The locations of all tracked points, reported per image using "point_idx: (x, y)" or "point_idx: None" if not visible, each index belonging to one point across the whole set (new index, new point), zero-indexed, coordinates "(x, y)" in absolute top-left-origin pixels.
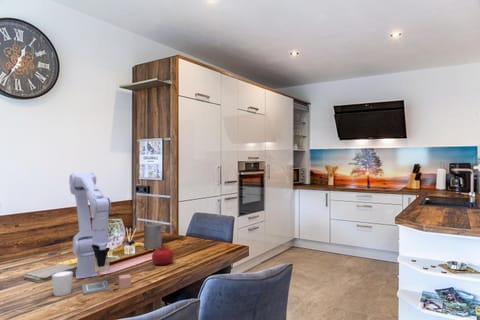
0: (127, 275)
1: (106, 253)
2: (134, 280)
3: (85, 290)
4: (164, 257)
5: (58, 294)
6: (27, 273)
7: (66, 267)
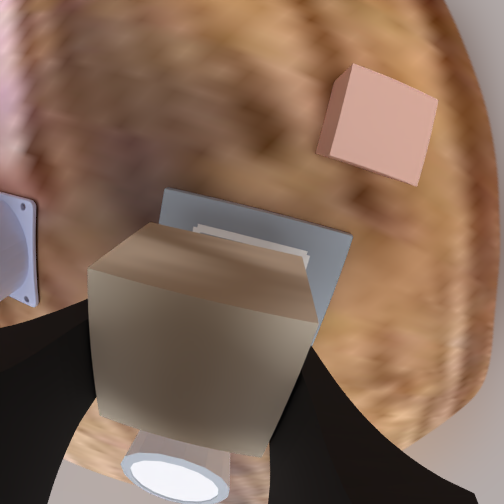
0: (379, 95)
1: (409, 472)
2: (285, 24)
3: None
4: None
5: None
6: None
7: None
